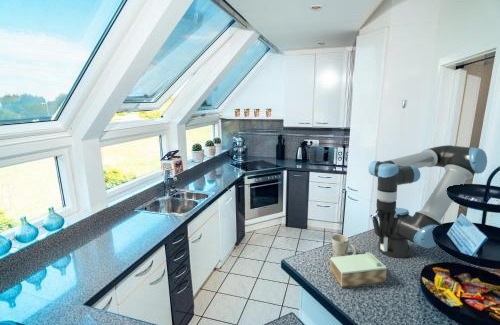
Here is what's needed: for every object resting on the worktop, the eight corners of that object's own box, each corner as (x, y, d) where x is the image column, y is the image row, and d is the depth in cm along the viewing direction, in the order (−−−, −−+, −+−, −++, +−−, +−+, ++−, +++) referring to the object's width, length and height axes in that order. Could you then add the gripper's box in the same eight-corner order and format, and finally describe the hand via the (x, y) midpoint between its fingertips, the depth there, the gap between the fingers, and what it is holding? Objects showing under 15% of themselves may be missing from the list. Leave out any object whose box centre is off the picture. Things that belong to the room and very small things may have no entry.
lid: (370, 254, 125) (371, 250, 124) (386, 269, 113) (386, 264, 113) (330, 259, 123) (330, 254, 122) (342, 274, 111) (342, 269, 111)
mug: (335, 250, 143) (335, 233, 141) (359, 257, 135) (359, 239, 133) (329, 256, 137) (329, 239, 135) (353, 264, 129) (354, 245, 127)
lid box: (370, 267, 126) (370, 255, 125) (385, 283, 114) (386, 269, 113) (330, 272, 124) (330, 259, 123) (341, 288, 112) (342, 274, 111)
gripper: (394, 195, 118) (391, 244, 122) (367, 198, 117) (365, 247, 121) (406, 201, 111) (402, 252, 115) (377, 203, 109) (374, 255, 114)
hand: (383, 249), depth 118 cm, fingers closed
